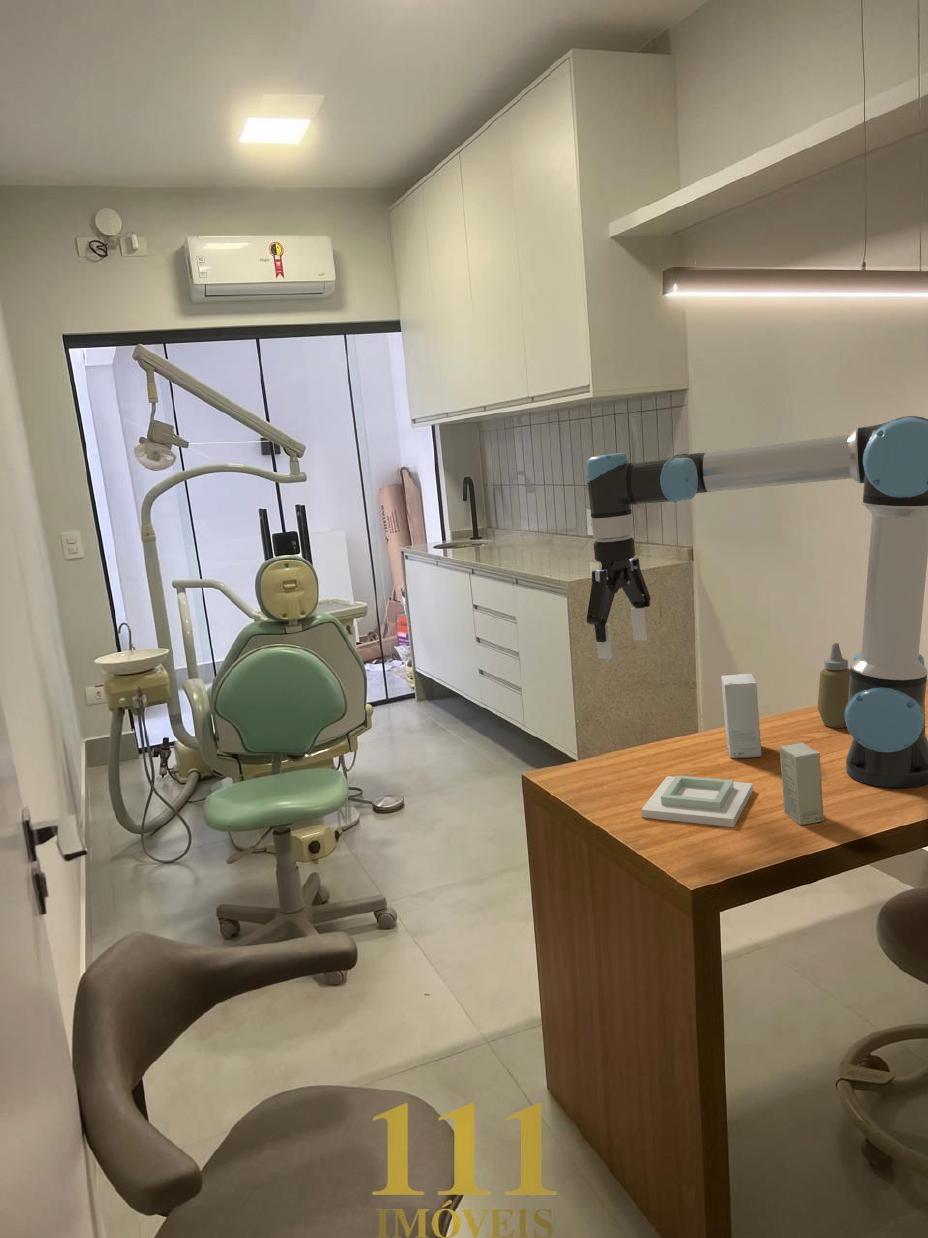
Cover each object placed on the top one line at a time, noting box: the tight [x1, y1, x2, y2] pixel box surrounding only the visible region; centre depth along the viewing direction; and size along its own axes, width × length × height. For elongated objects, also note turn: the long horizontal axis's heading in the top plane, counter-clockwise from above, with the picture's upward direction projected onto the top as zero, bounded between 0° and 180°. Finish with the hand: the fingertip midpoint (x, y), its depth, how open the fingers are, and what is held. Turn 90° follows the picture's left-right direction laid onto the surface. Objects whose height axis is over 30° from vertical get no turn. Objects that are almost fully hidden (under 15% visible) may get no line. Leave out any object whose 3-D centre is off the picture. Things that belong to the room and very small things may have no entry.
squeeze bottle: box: [817, 642, 851, 729], centre depth 192 cm, size 8×8×18 cm
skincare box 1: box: [720, 673, 762, 759], centre depth 183 cm, size 8×7×16 cm
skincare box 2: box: [779, 742, 825, 826], centre depth 151 cm, size 6×4×12 cm
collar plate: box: [641, 775, 754, 828], centre depth 162 cm, size 16×16×3 cm
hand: (623, 649), depth 171 cm, fingers open, 13 cm apart
